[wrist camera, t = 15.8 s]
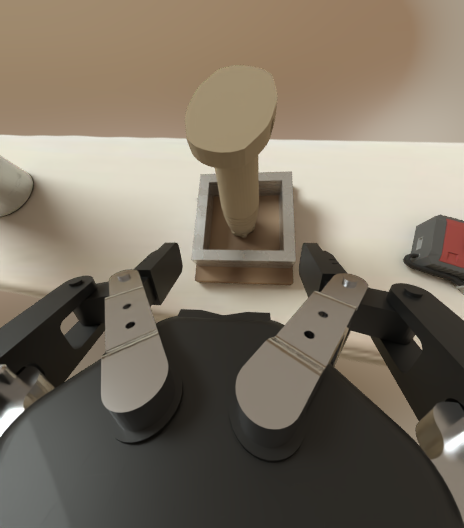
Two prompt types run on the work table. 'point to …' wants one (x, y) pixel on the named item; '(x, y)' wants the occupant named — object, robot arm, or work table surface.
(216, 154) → the handle
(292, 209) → the collar
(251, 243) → the board
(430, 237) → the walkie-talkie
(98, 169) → the work table surface
